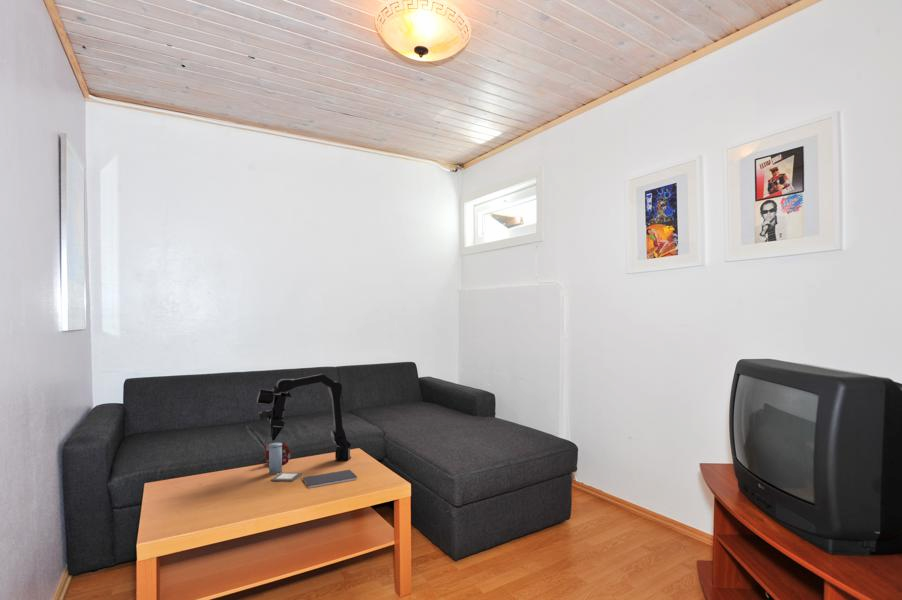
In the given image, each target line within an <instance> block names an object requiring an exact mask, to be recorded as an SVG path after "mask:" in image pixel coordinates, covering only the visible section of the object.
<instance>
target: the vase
mask: <svg viewBox="0 0 902 600" xmlns="http://www.w3.org/2000/svg"><path fill="white" fill-rule="evenodd" d="M268 444H269V463H268V474H269V473H270V474H269V475H278V474H277V473H279V474H280V472H281V473H283V464H282V443H281V442H272V443H268Z"/></svg>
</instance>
